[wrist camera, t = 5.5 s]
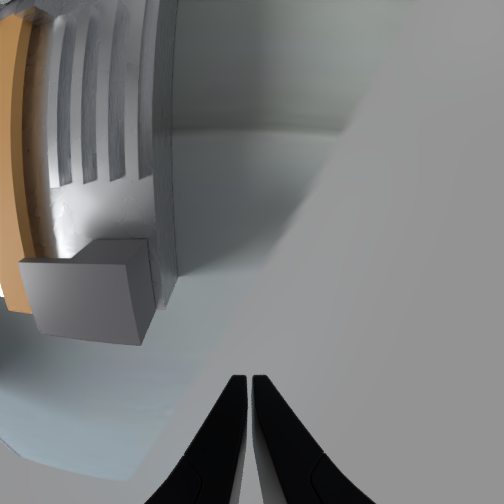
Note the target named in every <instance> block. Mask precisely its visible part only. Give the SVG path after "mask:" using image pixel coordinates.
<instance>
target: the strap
mask: <svg viewBox="0 0 504 504" xmlns="http://www.w3.org/2000/svg"><path fill="white" fill-rule="evenodd" d="M17 2H18V0H16V1H14V2H12V3H10V4H9V5H7V6H5V7H3V8H2V9H0V286H1V289H2V293H3V296H4V299H5V302H6V305H7V308H8V310H9V311H15V312H22V313H28V314H33V313H32V310H31V307H30V304H29V301H28V298H27V295H26V291H25V288H24V284H23V281H22V277H21V273H20V270H19V266H18V262H19V261H20V260H22V259H23V258H36V255H35V251H34V246H33V241H32V235H31V230H30V224H29V217H28V210H27V203H26V195H25V185H24V174H23V158H22V102H23V86H24V75H25V66H26V58H27V51H28V45H29V39H30V34H31V28H32V23H31V22H28V21H26V20H23V19H21V18H18V17H16V16H14V13H15V9H16V5H17Z"/></svg>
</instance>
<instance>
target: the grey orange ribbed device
mask: <svg viewBox="0 0 504 504" xmlns="http://www.w3.org/2000/svg"><path fill="white" fill-rule="evenodd" d="M14 1H16V0H11V1H9V2H8V3H6V4H4V5H2V4H0V9H2V8H3V7H5V6H7V5H9V4H10V3H12V2H14ZM177 3H178V0H18V2H17V5H16V9H15V13H14V16H16V17H18V18H21V19H23V20H26V21H28V22H31V23H32V28H31V34H30V39H29V45H28V51H27V58H26V66H25V75H24V86H23V102H22V158H23V174H24V185H25V195H26V203H27V210H28V217H29V224H30V230H31V235H32V241H33V246H34V251H35V255H36V258H72V257H73V256H74V255H75V254H76V253H78V252H79V251H80V250H81V249H83V248H84V247H85V246H86V245H88V244H89V243H90V242H91V241H93V240H117V239H147V247H148V256H149V265H150V273H151V281H152V288H153V295H154V302H155V308H156V309H157V310H165V309H166V306H167V304H168V301H169V299H170V296H171V294H172V291H173V289H174V286H175V284H176V281H177V279H178V271H177V259H176V246H175V232H174V215H173V193H172V158H171V107H172V73H173V53H174V38H175V25H176V13H177ZM0 296H1V297H4V296H3V293H2V289H1V286H0Z"/></svg>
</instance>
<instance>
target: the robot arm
mask: <svg viewBox="0 0 504 504" xmlns="http://www.w3.org/2000/svg"><path fill="white" fill-rule="evenodd" d="M251 399H252V400H251V401H252V435H253V436H252V437H253V447H254V453H255V459H256V464H257V470H258V475H259V480H260V486H261V491H262V496H263V502H264V504H376V503H375V502H373V501H372V500H371V499H370V498H369V497H367V496H366V495H365V494H364V493H363V492H362V491H360V489H358V488H357V487H356V486H355V485H354V484H353V483H352V482H351V481H350V480H349V479H347V477H346V476H344V474H343V473H342V472H341V471H340V470H339V469H338V468H337V467H336V465H335V464H334V463H333V462H332V461H331V459H330V458H329V457H328V456H327V455H326V453H324V451H323V450H322V448H321V447H320V446H319V445H318V443H317V442H316V441H315V440H314V438H313V437H312V436H311V434H310V433H309V432H308V430H307V429H306V428H305V426H304V425H303V424H302V422H301V421H300V420H299V419H298V417H297V416H296V415H295V413H294V412H293V411H292V409H291V408H290V407H289V406H288V404H287V402H286V401H285V400H284V398H283V397H282V396H281V394H280V393H279V392H278V390H277V389H276V387H275V386H274V385H273V383H272V382H271V380H270V379H269V378H268V376H266V375H254V376H253V377H252V394H251ZM247 410H248V398H247V377H246V376H245V375H233V376H232V377H231V378H230V380H229V381H228V383H227V385H226V387H225V388H224V390H223V391H222V393H221V395H220V396H219V398H218V400H217V402H216V403H215V405H214V407H213V408H212V410H211V411H210V413H209V415H208V416H207V418H206V419H205V421H204V423H203V424H202V426H201V428H200V429H199V431H198V433H197V434H196V436H195V437H194V439H193V440H192V442H191V443H190V445H189V447H188V448H187V450H186V451H185V453H184V456H182V457H181V459H180V460H179V462H178V464H177V465H176V466H175V468H174V469H173V471H172V472H171V473H170V475H169V476H168V478H167V479H166V480H165V481H164V483H163V484H162V485H161V486H160V487H159V488H158V489H157V490H156V492H155V493H154V494H153V495H152V496H151V497H150V498H149V499H148V500H147V501H146V502H145V503H144V504H238V503H239V495H240V489H241V480H242V473H243V466H244V458H245V451H246V439H247Z"/></svg>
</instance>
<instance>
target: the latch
mask: <svg viewBox="0 0 504 504" xmlns="http://www.w3.org/2000/svg"><path fill="white" fill-rule="evenodd" d="M18 266H19V270H20V273H21V277H22V281H23V284H24V288H25V291H26V295H27V298H28V301H29V304H30V307H31V310H32V313H33V316H34V319H35V322H36V325H37V328H38V330H39V333H40V334H46V335H52V336H59V337H65V338H72V339H80V340H87V341H96V342H104V343H114V344H124V345H136V346H141V344H142V342H143V339H144V337H145V335H146V332H147V330H148V327H149V325H150V323H151V320H152V318H153V316H154V314H155V311H156V308H155V302H154V295H153V288H152V281H151V273H150V265H149V256H148V247H147V239H117V240H93V241H91V242H90V243H89V244H88V245H86V246H85V247H84V248H83V249H81V250H80V251H79V252H78V253H76V254H75V255H74V256H73V257H72V258H23V259H22V260H20V261H19V262H18Z"/></svg>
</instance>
